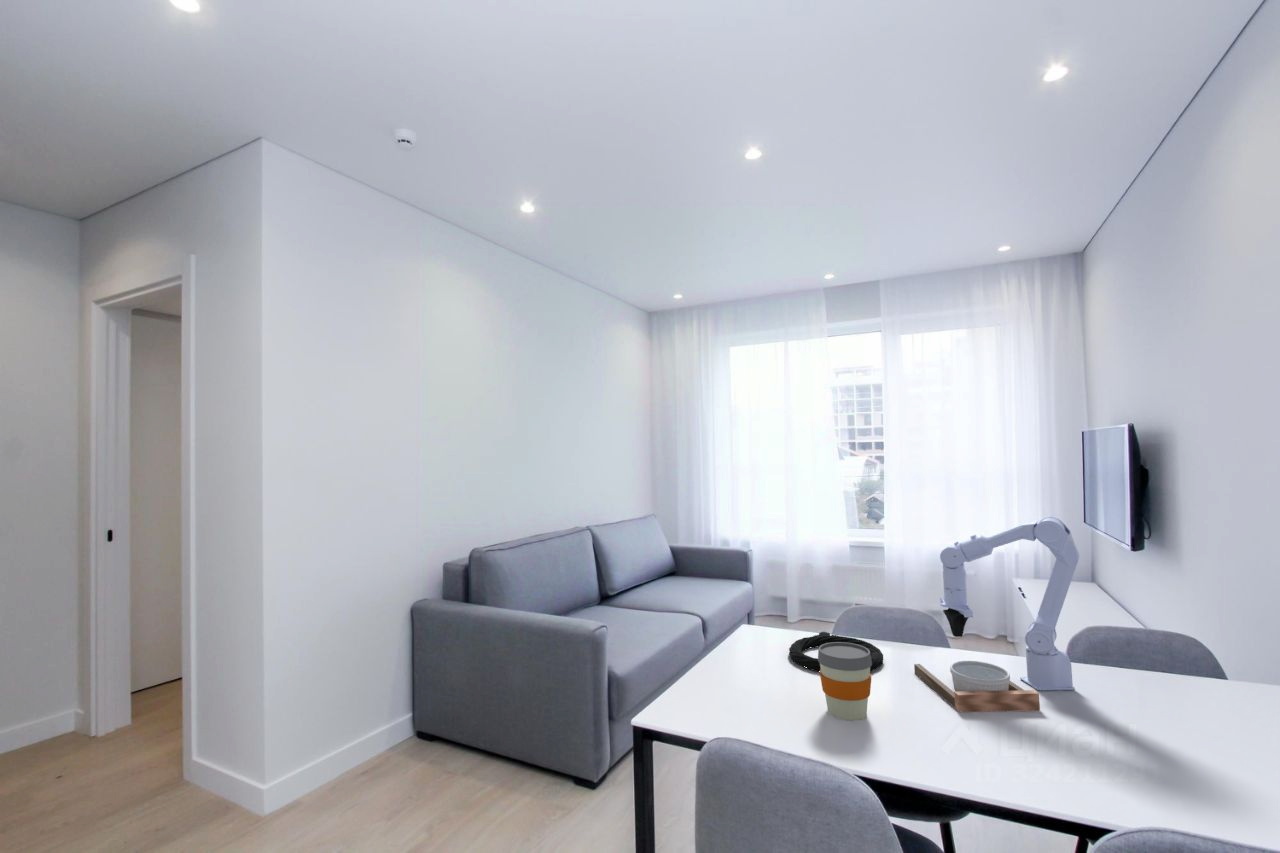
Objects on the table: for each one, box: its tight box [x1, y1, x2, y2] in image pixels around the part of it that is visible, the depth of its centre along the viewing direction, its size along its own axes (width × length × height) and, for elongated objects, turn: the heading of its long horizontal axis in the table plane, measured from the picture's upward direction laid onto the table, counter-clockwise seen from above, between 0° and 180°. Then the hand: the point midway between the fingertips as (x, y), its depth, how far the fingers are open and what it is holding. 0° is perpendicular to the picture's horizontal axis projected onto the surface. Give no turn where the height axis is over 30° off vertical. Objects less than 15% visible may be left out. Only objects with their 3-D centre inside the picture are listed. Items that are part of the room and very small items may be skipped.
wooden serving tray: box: [913, 663, 1041, 713], centre depth 153 cm, size 19×25×4 cm
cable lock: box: [788, 631, 884, 673], centre depth 181 cm, size 28×4×30 cm
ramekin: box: [949, 660, 1011, 692], centre depth 149 cm, size 13×13×7 cm
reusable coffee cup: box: [817, 642, 872, 722], centre depth 144 cm, size 12×12×15 cm
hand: (957, 636), depth 168 cm, fingers closed
